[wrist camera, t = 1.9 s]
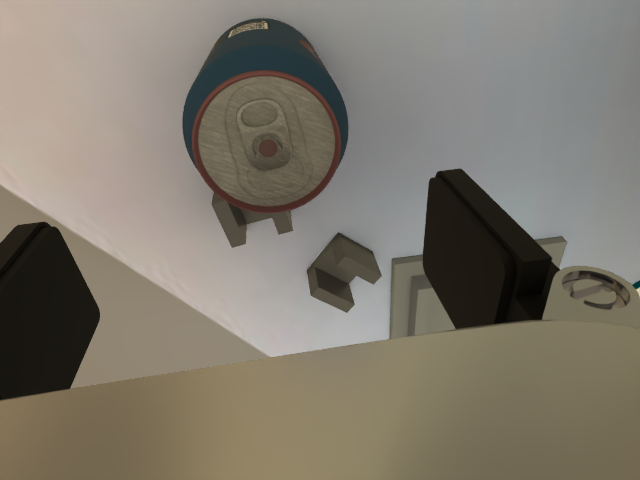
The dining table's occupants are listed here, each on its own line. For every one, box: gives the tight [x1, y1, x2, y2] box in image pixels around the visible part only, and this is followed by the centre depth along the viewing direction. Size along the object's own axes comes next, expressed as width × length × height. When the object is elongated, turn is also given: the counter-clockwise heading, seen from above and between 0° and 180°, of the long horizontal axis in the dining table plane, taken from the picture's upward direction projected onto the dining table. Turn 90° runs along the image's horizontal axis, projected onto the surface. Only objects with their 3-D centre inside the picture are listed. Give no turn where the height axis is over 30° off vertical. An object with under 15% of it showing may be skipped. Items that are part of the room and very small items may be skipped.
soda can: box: [183, 19, 348, 213], centre depth 21 cm, size 7×7×12 cm
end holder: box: [390, 237, 567, 339], centre depth 39 cm, size 15×15×3 cm
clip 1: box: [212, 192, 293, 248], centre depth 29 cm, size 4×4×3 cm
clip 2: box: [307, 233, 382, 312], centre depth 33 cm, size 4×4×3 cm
